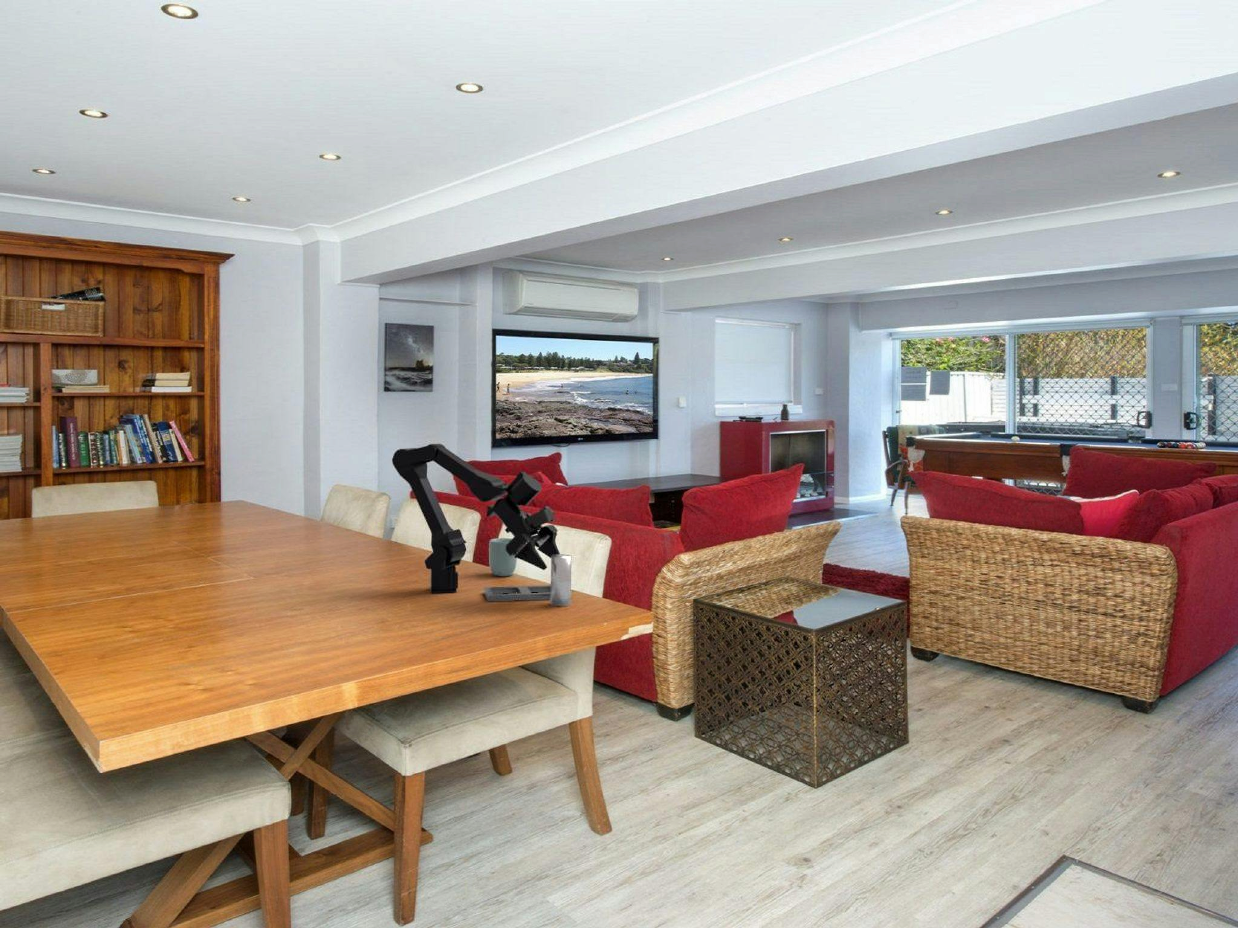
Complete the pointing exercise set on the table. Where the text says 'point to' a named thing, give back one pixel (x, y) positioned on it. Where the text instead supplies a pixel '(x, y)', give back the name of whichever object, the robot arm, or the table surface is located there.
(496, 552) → the cup
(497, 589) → the grey divided tray
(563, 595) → the peg
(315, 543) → the table surface
